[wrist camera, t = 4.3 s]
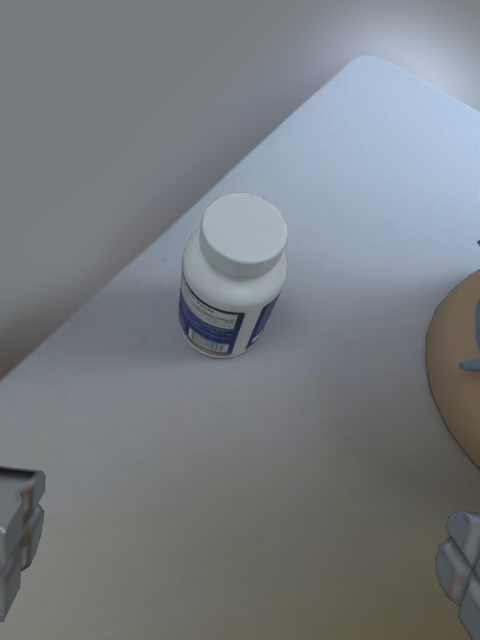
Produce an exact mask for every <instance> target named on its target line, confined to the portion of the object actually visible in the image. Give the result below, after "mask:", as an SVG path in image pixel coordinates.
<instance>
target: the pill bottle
mask: <svg viewBox="0 0 480 640" xmlns="http://www.w3.org/2000/svg"><path fill="white" fill-rule="evenodd" d="M287 238H288V227H287V223H286V221H285V218H284V217H283V215H282V213H281V212H280V211H279V209H277V208H276V207H275V206H274V205H273V204H272V203H271V202H269V201H267V200H266V199H264V198H262V197H259V196H256V195H253V194H248V193H231V194H227V195H224V196H221V197H219V198H217V199H216V200H214V201H213V202H212V203H211V204H210V205H209V206H208V207H207V209H206V210H205V212H204V214H203V217H202V222H201V226H200V227H199V228H198V229H197V230H196V231H195V232H194V233H193V234H192V235H191V237H190V238H189V240H188V242H187V244H186V246H185V249H184V254H183V259H182V274H181V288H180V302H179V324H180V329H181V331H182V334H183V336H184V338H185V339H186V340H187V342H188V343H189V344H190V345H191V346H192V347H193V348H194V349H196V350H197V351H199V352H200V353H202V354H205V355H207V356H210V357H214V358H230V357H235V356H238V355H241V354H242V353H244V352H246V351H247V350H249V349H250V348H251V347H252V346H253V345H254V344H255V343H256V342H257V340H258V339H259V337H260V335H261V333H262V331H263V329H264V327H265V324H266V322H267V320H268V318H269V316H270V314H271V312H272V309H273V307H274V305H275V303H276V301H277V299H278V296H279V294H280V292H281V290H282V288H283V286H284V283H285V280H286V276H287V270H288V263H287V256H286V253H285V250H284V248H285V245H286V242H287Z"/></svg>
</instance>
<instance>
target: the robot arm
mask: <svg viewBox="0 0 480 640" xmlns="http://www.w3.org/2000/svg"><path fill="white" fill-rule="evenodd" d="M44 492H45V474H44V472H43V471H37V470H29V469H20V468H12V467H3V466H0V622H4V619H5V617H6V615H7V613H8V611H9V609H10V607H11V605H12V603H13V601H14V599H15V597H16V594H17V592H18V590H19V588H20V576H21V572H22V571H23V570H25V569H26V568H28V567H29V566H30V565H31V563H32V560H33V558H34V556H35V554H36V551H37V548H38V544H39V541H40V538H41V534H42V528H43V521H44V510H43V509H42V507H41V506H40V505H39V501H40V499H41V498H42V496H43V494H44ZM445 528H446V530H447V532H448V535H449V537H448V538H447V539H445V540H444V541H443V542H442V543H441V544H439V547H438V550H437V554H436V557H435V565H436V575H437V578H438V581H439V585H440V586H441V588H442V590H443V592H444V594H445V595H446V597H448V598H449V599H450V600H451V601H453V602H454V603H455V604H456V605H458V606H459V613H458V618H459V620H460V621H461V623H462V625H463V626H464V628H465V630H466V632H467V633H468V635H469V637H470V638H471V640H480V513H477V512H465V511H453V513H452V514H451V515H450V516H449V517H448V520H447V523H446V526H445Z"/></svg>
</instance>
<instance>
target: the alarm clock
mask: <svg viewBox="0 0 480 640" xmlns="http://www.w3.org/2000/svg"><path fill="white" fill-rule="evenodd" d="M477 243H478V244H479V245H480V240H479V241H478V242H477ZM426 367H427V372H428V376H429V381H430V385H431V390H432V394H433V398H434V400H435V402H436V404H437V406H438V408H439V410H440V412H441V414H442V417H443V419H444V421H445V423H446V425H447V427H448V429H449V431H450V432H451V433H452V435H453V436H454V437H455V439H456V440H457V441H458V443H459V444H460V445H461V447H462V448H463V449H464V451H465V452H466V453H467V455H468V456H469V457H470V459H471V460H472V461H473V462H474V463H475V464H476V465H477V466H478V467H479V468H480V269H479V270H477V271H476V272H474V273H472V274H470V275H469V276H468V277H467V278H465V279H464V280H463V281H462V282H461V283H460V284H459V285H458V286H456V287H455V288H454V289H453V290H452V291H451V292H450V293H449V294H448V296H447V297H446V298H445V299H444V300H443V302H442V303H441V304H440V305H439V306H438V307H437V309H436V311H435V313H434V316H433V319H432V322H431V324H430V327H429V330H428V333H427V346H426Z"/></svg>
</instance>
